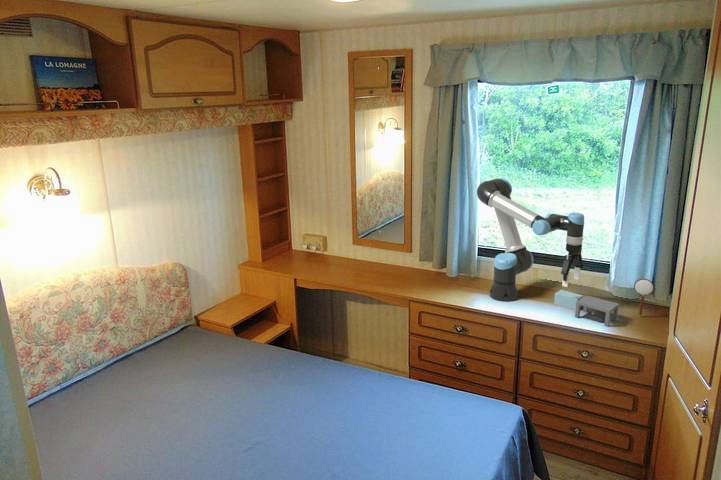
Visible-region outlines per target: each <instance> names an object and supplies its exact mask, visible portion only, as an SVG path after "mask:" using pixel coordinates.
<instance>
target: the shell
mask: <svg viewBox="0 0 721 480" xmlns="http://www.w3.org/2000/svg"><path fill="white" fill-rule="evenodd" d="M583 297H584V295H582V294H579V293H575V292H571V291H566V290H564V289H560V290H558V291H556V292H555V293H554V299H553V300H554V301H553V304H554V305H556V306H561V307H564V308H567V309H571V310H574V311H576V302H577V301H578V300H580V299H581V298H583ZM582 307H583V306H581V307H580V308H582Z"/></svg>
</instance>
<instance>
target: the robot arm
mask: <svg viewBox="0 0 721 480" xmlns="http://www.w3.org/2000/svg"><path fill="white" fill-rule="evenodd" d="M512 191H513V187H512V183H510V181H509V180H507V179H506V178H498V177H497V178H493V179H490V180H486V181H483V182H481V183H480V184H479V185H478V187H477V189H476V196H477V198H478V199H479V201H480V202H481V203H483V205H485V206H488V207H489V208H494V211H495V214H496V218H497V221H498V224H499V227H500V232H501V235H502V237H503V241H504V244H505V247H506V248H505V251H504V252H500V253H499V254H497V255H495V257H494V262H493V283H492V284H491V287H490V290H489V297H490V298H491V299H493V300H496V301H501V302H513V301H516V300H517V299H518V298H519V293H518V289H517V288H518V287H517V285H516V280H517V279H516V277H517V275H520V274H522V273H524V272H527V271H529V269H531V268H532V267H533V265H534V255H533V254H532V252H530V251H529V249H527V247H526V245H524V244H523V243H522V240H521V237H520V233H519V230H518V227H517V223H516V220H517V221H518V222H520V223H522V224H524V225H525V226H528V227H529V228H531V229H532V232H533V233H534V234H535V235H537V236H545V235H548V234H549V233H552V232H554V231H558V230H559V231H565V232H566V240H565V241H566V244H565V250H566V252H568V254H565V255H564V260H563V265H562V268H561V271H560V274H561V275H562V280H561V281H562V283H561V285H562V287H566V288H568V287H569V279H570V278H569V277H570V274H569V273H570V270H571V268H572V266H573V264H574V273H573V280H577V281H580V278H581V269H582V268H584V266H583V265H584V263H583V256H582V249H583V241H584V229H585V228H584V226H585V215H584V214H583V213H582V212H581V213H580V212H570V213H569V214H568V215H563V214H557V213H547V214H546V215H545V216H542V215H539V214H538V213H537V212H535V211H532V210H530V209H529V208H527V207H526V206H523V205H521V204H520V203H518V202H515V200H512V197H511V195H512Z"/></svg>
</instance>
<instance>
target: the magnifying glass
mask: <svg viewBox="0 0 721 480" xmlns="http://www.w3.org/2000/svg"><path fill="white" fill-rule="evenodd" d="M633 288H634V291H635V293H637V294H638V295H640V302H639V303H640V304H639V310H638V311H639V312H638V317H642V313H643V307H644V300H645V299H644V298H645V296H646V297H647V296H649V295H652V294H653V292H654V290H655V285H654V282H652V281H651V280H650V279H648V278H639V279H638V280H636V281H635V283H634V285H633Z"/></svg>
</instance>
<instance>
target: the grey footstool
mask: <svg viewBox="0 0 721 480" xmlns="http://www.w3.org/2000/svg"><path fill="white" fill-rule="evenodd" d="M619 305H620V303H617V302H614V301H610V300H607V299H606V300H605V299H602V298H598V297H595V296H591V295H585V296H584V295H583V298H581V299H580V300H578V301H577V302H576V310H574V311H575V313H574V318H576V319H579V318H580V316H581V315H580V314H581V308H582V307H583V311H582V312H584V315H583V318H584V319H586V320H590V321H593V322H597V323H600V324H604V327H606V328H608V327H610V324H611V323H610V322H611V321H610V319H611V313H612V320H613V321H617V320H618V317H619V316H618V314H619V307H620V306H619ZM581 306H582V307H581ZM589 309H593V310H597V311H600V312H603V313H605V318H604V319H603V318H601V317H598V316H594V315H591V314H592V311H591V310H589ZM585 312H586V313H585Z"/></svg>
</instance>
